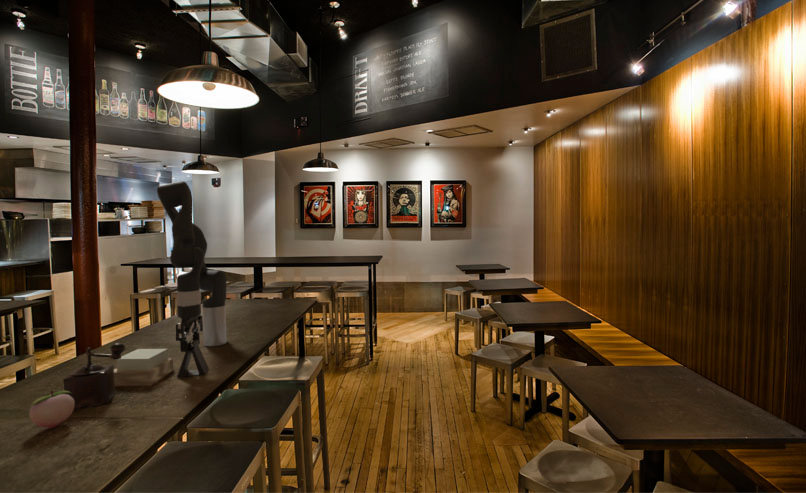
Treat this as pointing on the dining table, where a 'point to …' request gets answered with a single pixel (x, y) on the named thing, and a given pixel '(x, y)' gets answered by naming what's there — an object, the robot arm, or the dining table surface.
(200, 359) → the phone stand
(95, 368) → the manual coffee grinder
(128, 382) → the tower base
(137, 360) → the tower top
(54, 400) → the decorative fruit
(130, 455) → the dining table surface
